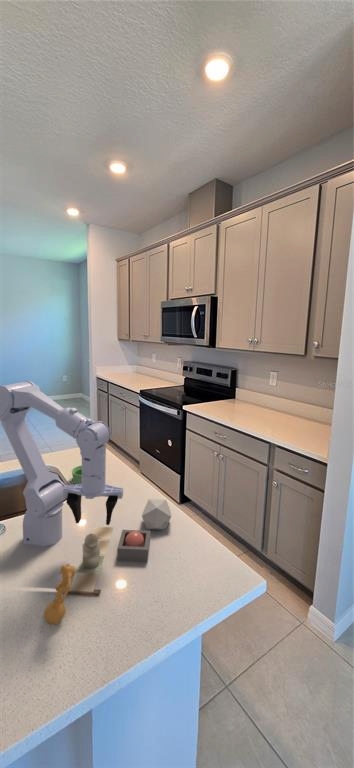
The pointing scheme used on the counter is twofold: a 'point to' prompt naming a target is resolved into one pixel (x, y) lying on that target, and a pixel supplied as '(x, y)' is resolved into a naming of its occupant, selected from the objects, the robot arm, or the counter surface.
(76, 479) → the ramekin
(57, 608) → the figurine
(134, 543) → the popper dome
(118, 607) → the counter surface
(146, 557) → the frame
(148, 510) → the die
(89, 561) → the pawn
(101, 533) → the board
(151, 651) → the counter surface
